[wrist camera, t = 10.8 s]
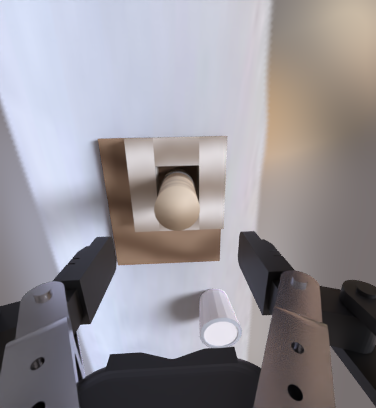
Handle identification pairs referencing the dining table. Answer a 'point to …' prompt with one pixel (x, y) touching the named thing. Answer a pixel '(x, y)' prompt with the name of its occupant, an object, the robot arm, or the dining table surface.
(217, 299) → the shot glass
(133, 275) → the dining table surface
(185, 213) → the peg
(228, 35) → the dining table surface
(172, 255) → the socket board
